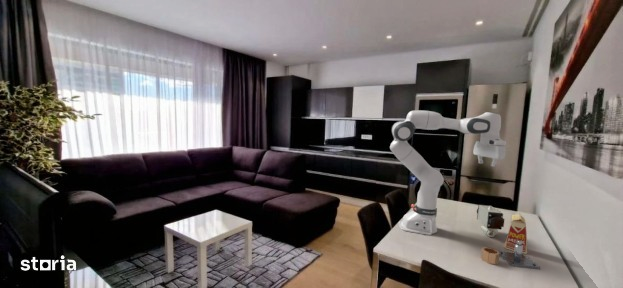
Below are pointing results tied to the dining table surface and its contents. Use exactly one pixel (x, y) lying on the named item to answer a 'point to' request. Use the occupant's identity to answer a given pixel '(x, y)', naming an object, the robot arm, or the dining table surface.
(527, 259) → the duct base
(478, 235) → the dining table surface
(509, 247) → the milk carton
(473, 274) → the dining table surface
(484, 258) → the wooden faceted bowl
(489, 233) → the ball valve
